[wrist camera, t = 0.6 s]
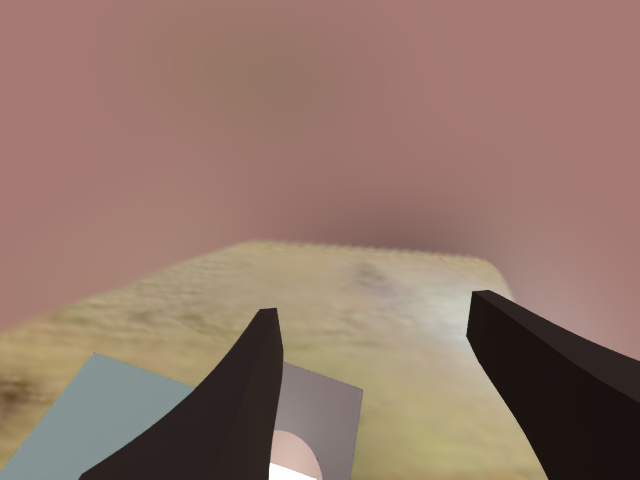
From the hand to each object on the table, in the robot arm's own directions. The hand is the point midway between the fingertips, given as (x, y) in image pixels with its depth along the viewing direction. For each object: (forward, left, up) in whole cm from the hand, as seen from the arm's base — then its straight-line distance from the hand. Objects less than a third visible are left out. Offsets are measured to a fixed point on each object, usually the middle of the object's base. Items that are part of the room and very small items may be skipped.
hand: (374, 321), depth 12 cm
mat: (-5, +12, -16) cm, 21 cm away
